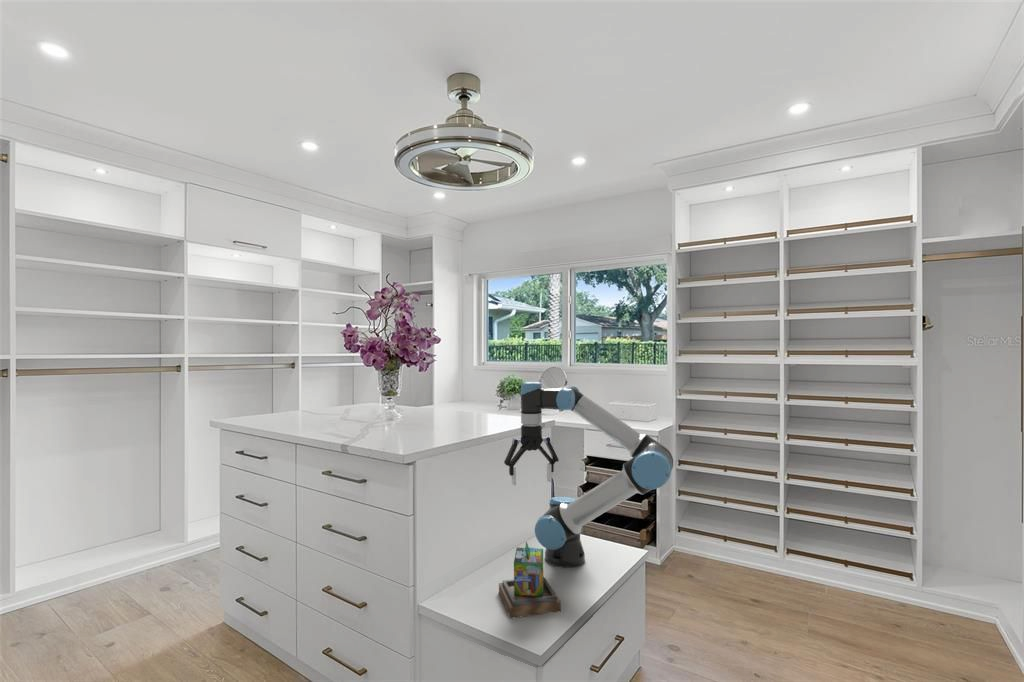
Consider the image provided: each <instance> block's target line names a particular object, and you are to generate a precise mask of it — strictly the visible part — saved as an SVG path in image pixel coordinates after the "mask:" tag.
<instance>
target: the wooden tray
mask: <svg viewBox="0 0 1024 682" xmlns="http://www.w3.org/2000/svg"><path fill="white" fill-rule="evenodd" d="M498 594H499V596H500V598H501V600H502V602H504V603H503V605H504V607H505V608H506V611H507V614H508V616H509V618H510V619H514V618H513V617H515V618H521V617H520V616H523V617H528V615H530V616H537V615H544V614H551V613H550V612H553V613H558V611H560V612H562V611H561V610H562V601H561V600H560V598H559V597H558V595H557V593H556V592H555V590H554V589H553V588H552V585H551V584H550V583H549V582H548V580H547V579H546V578H545V577H544V576H543V597H535V596H517V595H514V578H513V579H506V580H502V582H498Z"/></svg>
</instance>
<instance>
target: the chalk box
mask: <svg viewBox="0 0 1024 682" xmlns="http://www.w3.org/2000/svg"><path fill="white" fill-rule="evenodd" d="M543 577H544V549H543V548H535V547H529V544H528V542H527V541H525V547H516V549H515V555H514V560H513V579H514V595H517V596H535V597H543Z"/></svg>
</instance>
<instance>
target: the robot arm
mask: <svg viewBox="0 0 1024 682" xmlns="http://www.w3.org/2000/svg"><path fill="white" fill-rule="evenodd" d="M520 388H521V389H520V421H521V422H520V423H521V426H520V433H521V435H520V438H515V437H513V438H512V444H511V446H510V448H509V451H508V452H507V455H506V456H505V459H504V462H503V464H504V465H505V466H506V467H507V466H508V468H509V469H508V472H509V473H508V474H509V476H510V477H511V485H513V486H516V485H517V467H516V464H517V462H519V460H520V458H521V457H522V456H523V455H524V454H525V452H527V451H529V452H530V451H537V450H538V451H539V452H540V453H541V454H542V456H544V458H545V459H546V460H547V462H546V481H548V482H549V483H552V473H554V472H555V471H554V470H555V467H554V466H555V463H556V462H559V460H560V459H559V458H558V455H557V454H556V452H555V449H554V446H553V445H552V443H551V437H549V436H548V435H547V436H544V437H543V436H542V435H543V430H542V428H543V426H542V422H543V419H542V418H543V417H542V413H543V412H542V410H557V411H558V410H559V411H560V410H561V411H572V412H573V413H575V414H576V415H577V416H578V417H581V418H582V419H583V420H584V421H585V422H587V423H589V424H590V425H591V426H593V427H594V428H596V429H597V430H599V431H600V432H601V433H602V434H604V435H606V436H607V437H608V438H609V439H611V440H612V441H614V442H615V443H617V444H618V445H619V446H621V447H622V448H624V449H625V450H626V451H628V452H629V454H630V457H631V459H629V460H627V461H626V462H624V463H623V464H622V468H621V469H622V470H620V471H619V472H617V473H616V474H613V476H610V477H609V478H608V479H606V480H604V481H603V482H601V483H600V484H598V485H596V486H595V487H594V488H592V489H590V490H588V491H586V492H585V493H584V494H582V495H581V496H579V497H577V498H574V497H569V496H554V497H550V499H549V503H548V504H549V509H547V511H546V512H544V514H543V515H541V516H540V517H539V518H538V519H537V521H536V523H535V526H534V535H535V538H536V540H537V542H538V544H540V545H541V546H542V547H543V548H545V550H544V559H545V561H546V560H547V561H548V562H549V564H550V563H551V564H550V565H552V564H553V565H552V566H555V565H556V566H555V567H559V566H561V567H562V568H573V567H578V566H580V565H582V564H583V563H584V562H585V561H586V559H585V558H586V556H585V555H586V554H585V551H584V546H583V544H582V540H581V532H582V527H583V526H585V525H586V524H588V523H590V522H592V521H593V520H595V519H596V518H598V517H600V516H601V515H603V514H604V513H607V512H608V511H609V510H612V509H613V508H614V507H616V506H617V505H619V504H621V503H623V502H624V501H626V500H627V499H629V498H631V497H633V496H634V495H636V494H640V495H645V494H646V493H648V492H651V491H652V490H656V489H659V488H661V487H664V486H665V484H667V482H668V481H669V479H670V477H671V475H672V470H673V468H674V457H673V454H672V452H671V451H670V450H669V449H668V448H667V447H666V446H664V445H663V444H662V443H660V442H659V441H657V440H655V439H654V438H652V437H650V436H649V435H648V434H646V433H640V432H639V431H637V430H636V429H634V428H633V427H632V426H630V425H628V424H627V423H625V422H624V421H623V420H621V419H620V418H618V417H616V415H614V414H612V413H610V411H607V409H605V408H603V407H602V406H600V405H599V404H597V403H596V402H595V401H593V400H592V399H591V398H589V397H588V396H586V395H584V394H583V393H582V392H580V390H579V388H578V387H577V386H575V385H572V384H566V385H563V386H560V387H557V388H555V387H554V388H553V387H550V388H547V387H543V386H542V383H541V382H539V381H538V382H537V381H525V382H523V383H521V385H520ZM543 442H544V443H545V445H546V447H547V449H548V451H549V453H550V455H551V456H550V455H549V453H548V452H547V451H546V450H545V449H544V447H543V446H542V443H543ZM520 444H521V446H520V447H519V449H518V451H517V452H516V450H517V448H518V446H519V445H520ZM515 452H516V454H515ZM547 561H546V562H547ZM548 562H547V563H548ZM561 567H560V568H561Z"/></svg>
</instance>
